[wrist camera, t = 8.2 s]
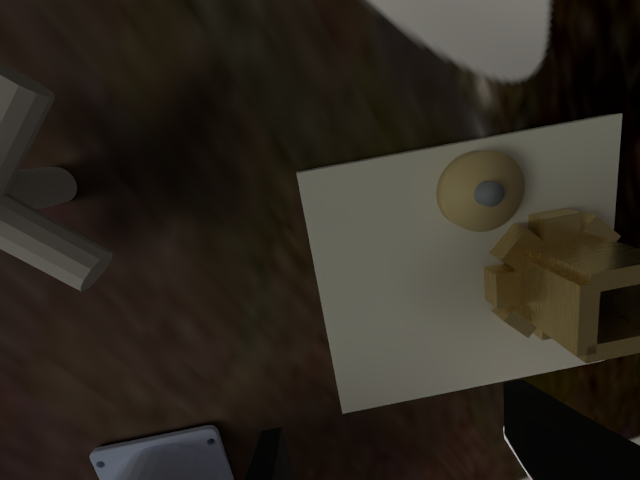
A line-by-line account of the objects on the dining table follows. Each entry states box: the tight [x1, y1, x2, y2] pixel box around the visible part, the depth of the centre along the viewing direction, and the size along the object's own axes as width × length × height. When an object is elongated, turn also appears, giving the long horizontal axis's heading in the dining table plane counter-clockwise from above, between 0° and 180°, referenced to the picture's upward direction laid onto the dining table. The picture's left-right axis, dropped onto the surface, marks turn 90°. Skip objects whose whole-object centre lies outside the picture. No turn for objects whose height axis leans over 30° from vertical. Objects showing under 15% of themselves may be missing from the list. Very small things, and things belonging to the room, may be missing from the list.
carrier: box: [296, 113, 622, 414], centre depth 18 cm, size 15×17×4 cm
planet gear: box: [484, 208, 640, 364], centre depth 17 cm, size 7×7×5 cm
